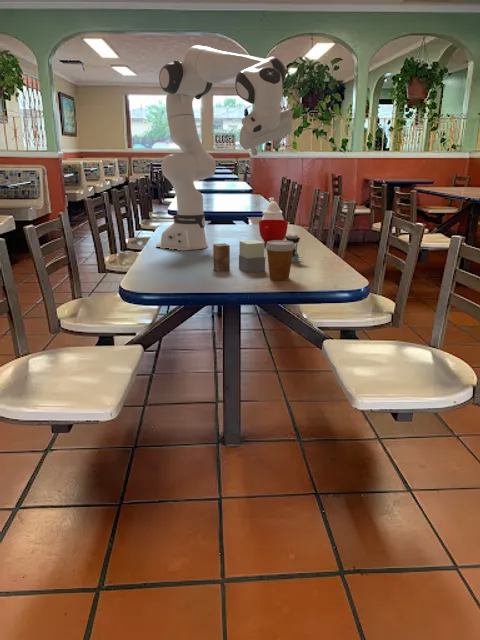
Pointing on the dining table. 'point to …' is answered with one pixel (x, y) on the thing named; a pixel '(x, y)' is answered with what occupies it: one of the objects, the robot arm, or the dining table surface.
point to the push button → (294, 239)
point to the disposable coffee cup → (279, 259)
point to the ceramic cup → (272, 229)
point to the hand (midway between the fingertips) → (265, 150)
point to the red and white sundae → (272, 211)
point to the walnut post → (221, 257)
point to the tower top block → (251, 249)
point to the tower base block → (251, 264)
